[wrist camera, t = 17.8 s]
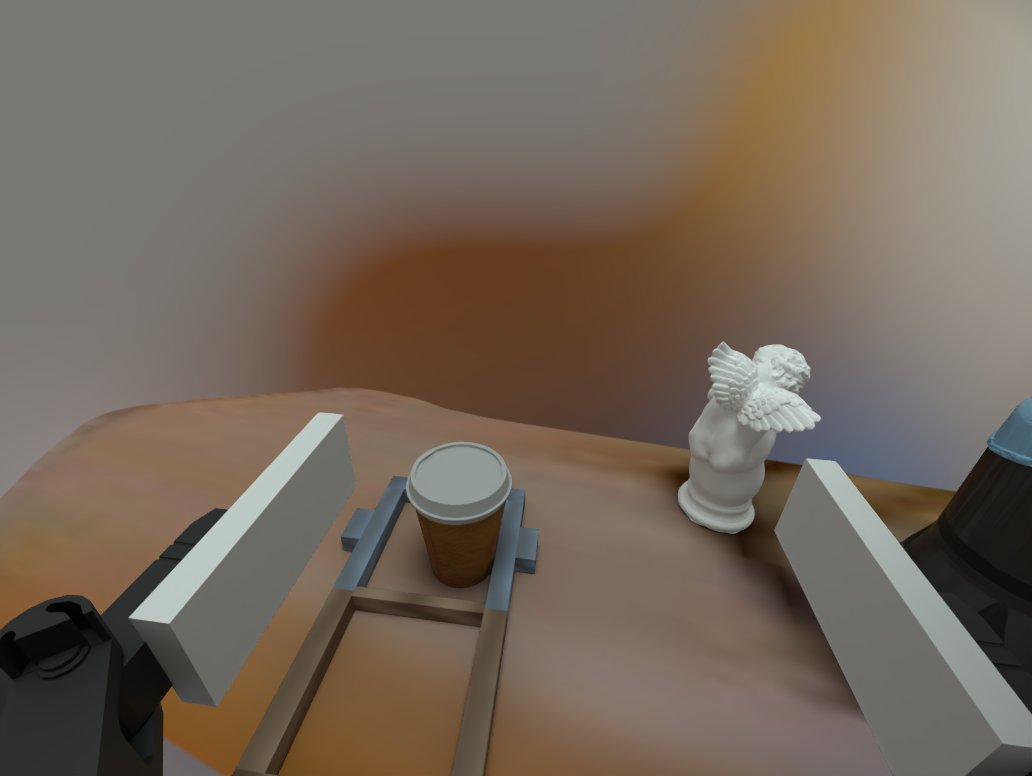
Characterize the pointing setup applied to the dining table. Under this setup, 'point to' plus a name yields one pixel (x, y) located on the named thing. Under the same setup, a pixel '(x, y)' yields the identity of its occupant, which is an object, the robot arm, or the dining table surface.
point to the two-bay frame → (351, 594)
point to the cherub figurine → (742, 432)
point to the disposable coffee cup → (460, 508)
